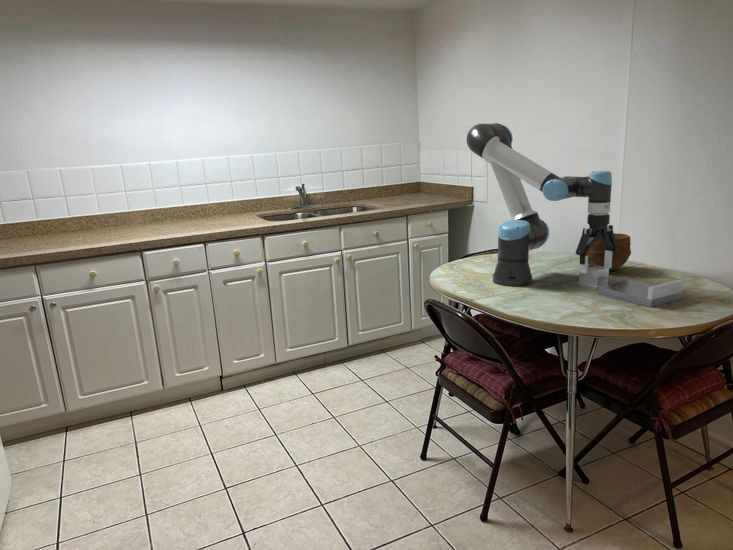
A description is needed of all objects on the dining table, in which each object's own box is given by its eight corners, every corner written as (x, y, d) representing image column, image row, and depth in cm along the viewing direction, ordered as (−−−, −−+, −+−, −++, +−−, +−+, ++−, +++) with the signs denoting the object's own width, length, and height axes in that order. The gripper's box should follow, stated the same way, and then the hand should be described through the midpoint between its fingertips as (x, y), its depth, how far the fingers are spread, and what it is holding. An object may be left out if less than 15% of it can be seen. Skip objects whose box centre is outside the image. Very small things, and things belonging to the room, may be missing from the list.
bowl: (572, 266, 236) (574, 232, 232) (613, 264, 237) (616, 230, 234) (593, 276, 217) (596, 239, 214) (638, 274, 219) (641, 237, 215)
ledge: (650, 307, 177) (652, 288, 175) (598, 293, 194) (599, 275, 192) (682, 298, 185) (684, 280, 183) (629, 286, 202) (630, 269, 200)
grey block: (596, 288, 201) (598, 268, 199) (579, 283, 207) (580, 264, 206) (607, 286, 204) (609, 266, 202) (589, 281, 210) (591, 262, 208)
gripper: (584, 217, 190) (581, 276, 195) (629, 211, 202) (626, 267, 206) (566, 216, 196) (564, 273, 201) (612, 209, 208) (609, 263, 213)
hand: (595, 270), depth 204 cm, fingers open, 13 cm apart
